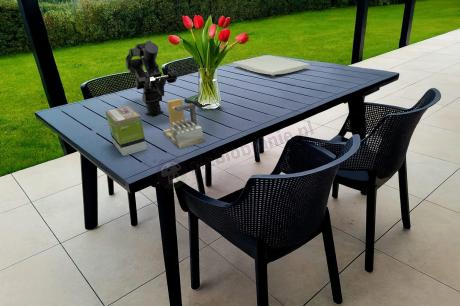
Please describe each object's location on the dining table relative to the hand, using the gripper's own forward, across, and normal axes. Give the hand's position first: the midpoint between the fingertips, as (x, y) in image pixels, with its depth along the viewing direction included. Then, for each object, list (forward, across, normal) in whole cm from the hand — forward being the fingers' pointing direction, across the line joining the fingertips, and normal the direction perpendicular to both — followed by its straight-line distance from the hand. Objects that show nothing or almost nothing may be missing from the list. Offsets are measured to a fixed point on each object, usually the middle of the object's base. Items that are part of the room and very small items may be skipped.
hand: (163, 95), depth 158 cm
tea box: (+20, +22, 0) cm, 29 cm away
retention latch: (+19, 0, +2) cm, 19 cm away
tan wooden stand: (+23, 0, +4) cm, 23 cm away
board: (-29, -97, -49) cm, 112 cm away
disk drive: (-4, -26, -24) cm, 35 cm away
